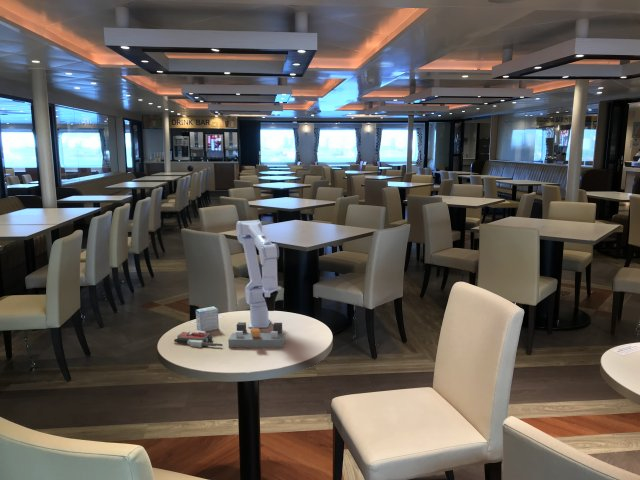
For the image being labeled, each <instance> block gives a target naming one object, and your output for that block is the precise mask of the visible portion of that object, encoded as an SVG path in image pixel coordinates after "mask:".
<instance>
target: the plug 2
mask: <svg viewBox="0 0 640 480" xmlns="http://www.w3.org/2000/svg"><path fill="white" fill-rule="evenodd" d="M272 326H273V327H272V331H278V333H283V322H273V324H272Z"/></svg>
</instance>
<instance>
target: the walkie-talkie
mask: <svg viewBox="0 0 640 480" xmlns="http://www.w3.org/2000/svg"><path fill="white" fill-rule="evenodd" d="M176 337H177V338H175V339H174V340H173V342H174V343H177V344H180V345H182V344H183V345H189V346H190V347H194V348H195V347H196V348H202V347H206V346H207V347H216V346H218V347H223V346H224V345H223V344H222V343H217V342H216V343H213V342H211V341H213V335H212V333H209V332H207V331H199V330H197V329H196V330H194V331H190V330H187V331H182V332H180V333H179V334H177V336H176Z"/></svg>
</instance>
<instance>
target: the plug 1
mask: <svg viewBox="0 0 640 480" xmlns="http://www.w3.org/2000/svg"><path fill="white" fill-rule="evenodd" d="M236 331H243V333H248V329H247V322H246V321H244V322H241V321H238V322H237V324H236Z"/></svg>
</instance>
